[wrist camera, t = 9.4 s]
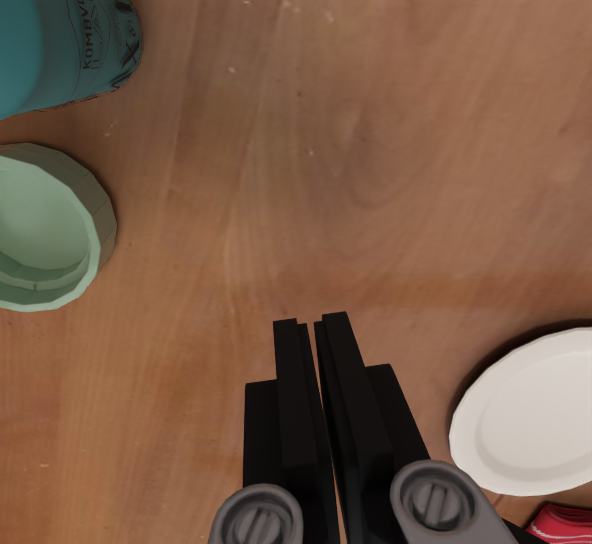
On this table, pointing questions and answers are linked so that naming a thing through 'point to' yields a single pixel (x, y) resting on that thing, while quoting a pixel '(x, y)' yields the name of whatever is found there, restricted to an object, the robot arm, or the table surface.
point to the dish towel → (562, 525)
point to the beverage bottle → (64, 51)
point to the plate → (529, 418)
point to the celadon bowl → (49, 228)
